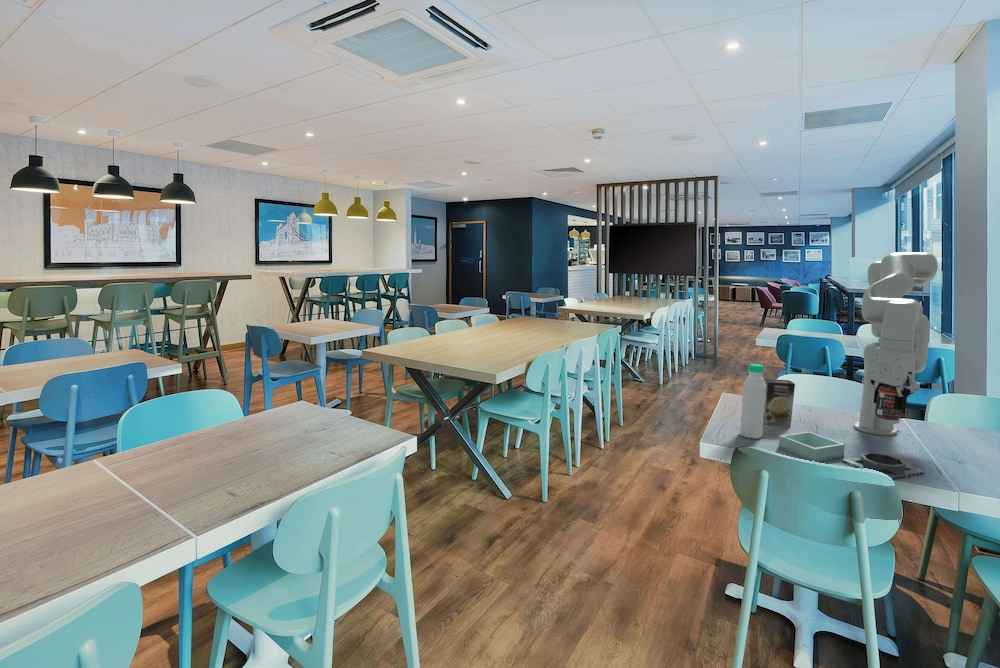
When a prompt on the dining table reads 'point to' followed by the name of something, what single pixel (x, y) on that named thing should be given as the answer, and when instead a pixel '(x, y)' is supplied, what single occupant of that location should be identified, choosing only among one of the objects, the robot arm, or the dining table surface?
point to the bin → (811, 446)
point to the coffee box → (778, 402)
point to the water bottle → (753, 403)
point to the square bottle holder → (892, 470)
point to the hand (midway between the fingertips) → (889, 405)
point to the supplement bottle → (887, 403)
